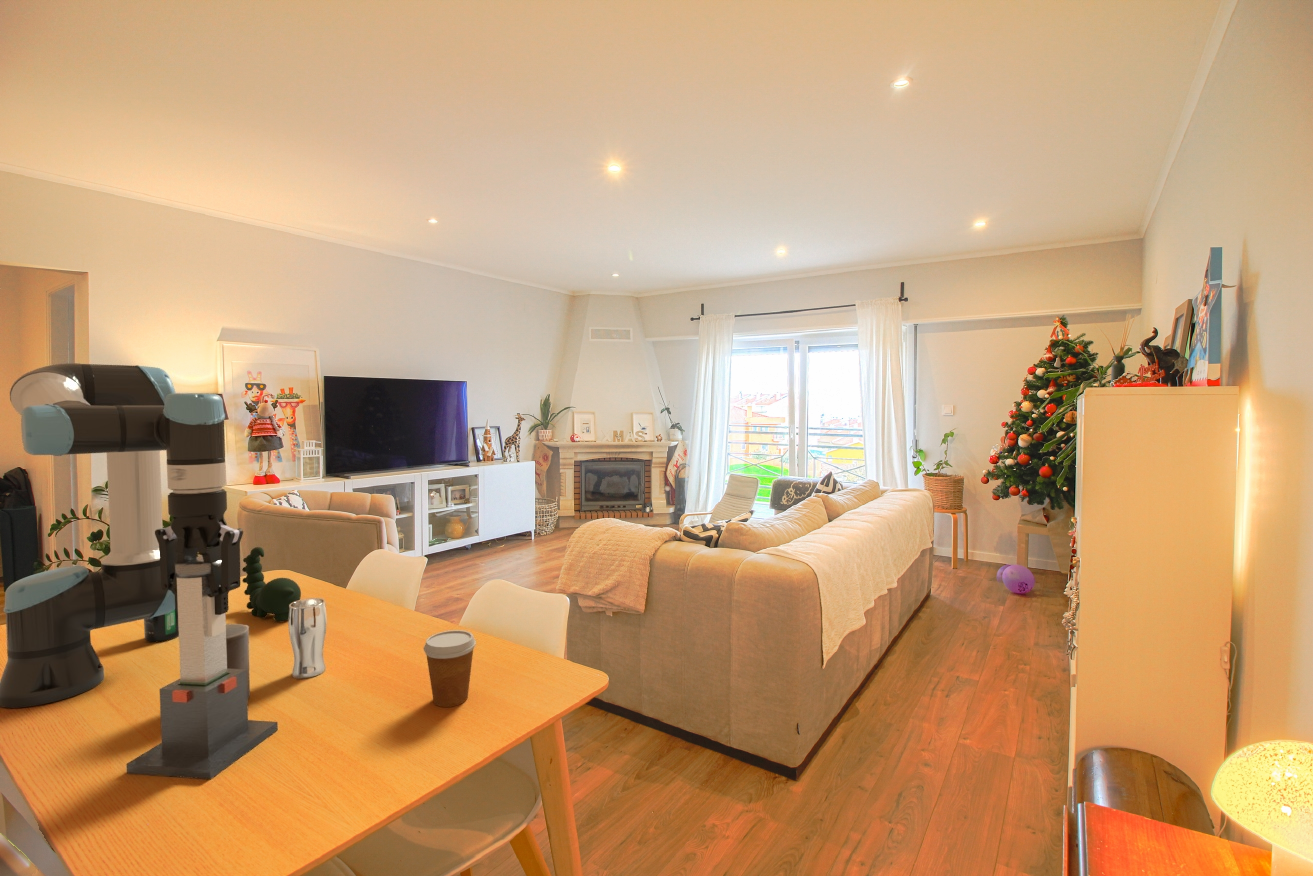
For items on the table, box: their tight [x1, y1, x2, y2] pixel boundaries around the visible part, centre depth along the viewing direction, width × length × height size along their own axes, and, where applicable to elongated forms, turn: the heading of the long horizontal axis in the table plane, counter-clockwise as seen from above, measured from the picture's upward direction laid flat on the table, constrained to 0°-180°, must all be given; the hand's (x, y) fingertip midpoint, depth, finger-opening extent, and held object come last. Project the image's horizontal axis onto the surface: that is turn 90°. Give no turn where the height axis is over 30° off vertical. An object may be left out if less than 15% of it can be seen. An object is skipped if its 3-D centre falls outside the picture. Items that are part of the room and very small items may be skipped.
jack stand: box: [126, 668, 279, 780], centre depth 99 cm, size 14×14×12 cm
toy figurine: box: [241, 546, 302, 623], centre depth 162 cm, size 9×19×25 cm
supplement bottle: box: [143, 609, 179, 643], centre depth 147 cm, size 7×7×12 cm
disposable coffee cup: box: [423, 629, 477, 708], centre depth 116 cm, size 10×10×12 cm
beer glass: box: [288, 597, 328, 680], centre depth 128 cm, size 7×7×15 cm
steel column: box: [175, 555, 228, 687], centre depth 98 cm, size 6×6×24 cm
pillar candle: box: [226, 623, 251, 701], centre depth 115 cm, size 10×10×15 cm
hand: (202, 632), depth 98 cm, fingers closed on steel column, 4 cm apart
